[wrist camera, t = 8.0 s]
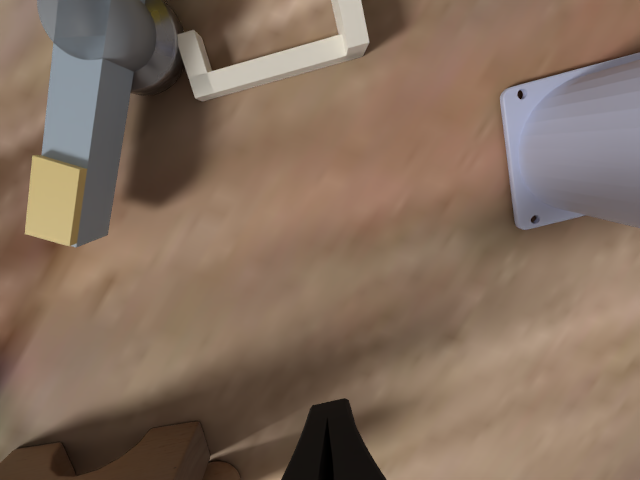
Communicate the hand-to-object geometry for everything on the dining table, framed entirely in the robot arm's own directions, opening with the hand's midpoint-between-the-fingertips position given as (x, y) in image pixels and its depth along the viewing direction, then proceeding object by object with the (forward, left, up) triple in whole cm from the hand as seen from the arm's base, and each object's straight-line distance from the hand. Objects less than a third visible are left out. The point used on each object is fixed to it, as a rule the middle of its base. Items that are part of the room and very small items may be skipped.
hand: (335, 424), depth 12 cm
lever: (+6, -17, -8) cm, 20 cm away
